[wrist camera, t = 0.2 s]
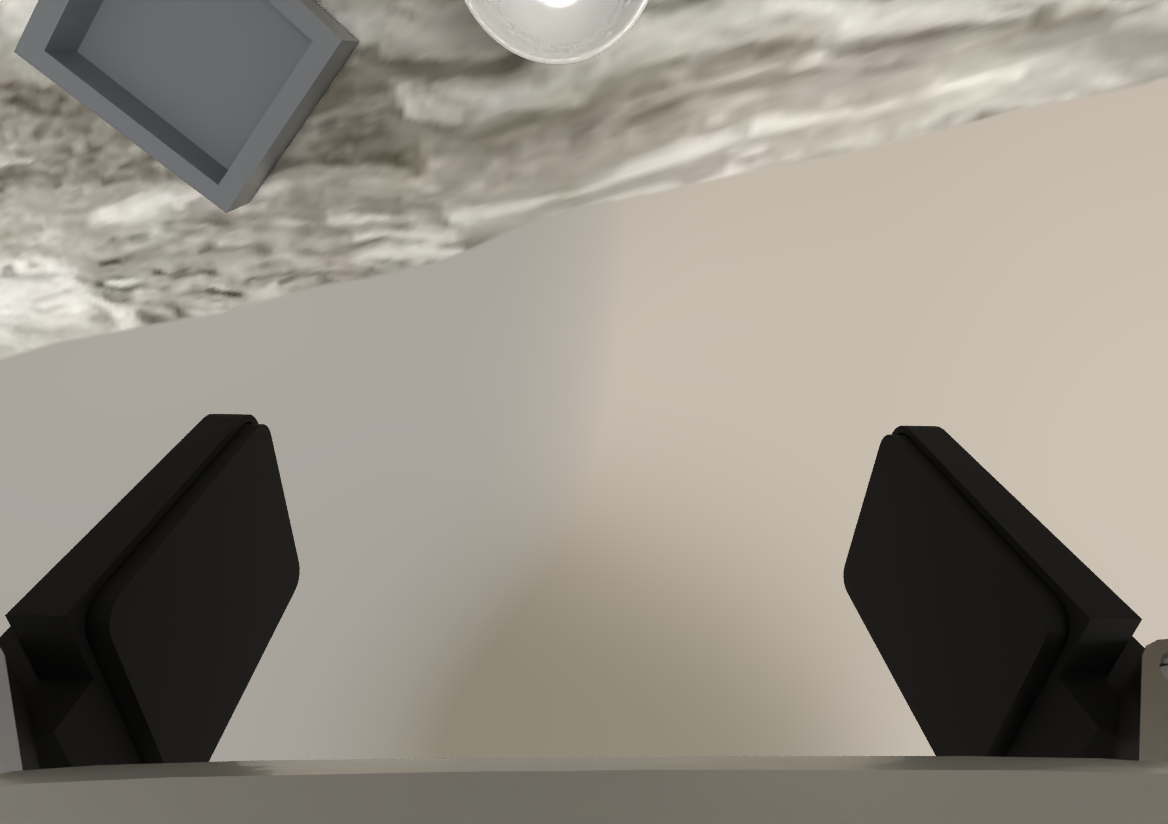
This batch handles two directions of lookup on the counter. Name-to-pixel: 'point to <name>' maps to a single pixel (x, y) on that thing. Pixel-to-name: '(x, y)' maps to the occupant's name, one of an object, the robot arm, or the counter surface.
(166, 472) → the robot arm
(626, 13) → the white cup
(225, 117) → the tray
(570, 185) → the counter surface
